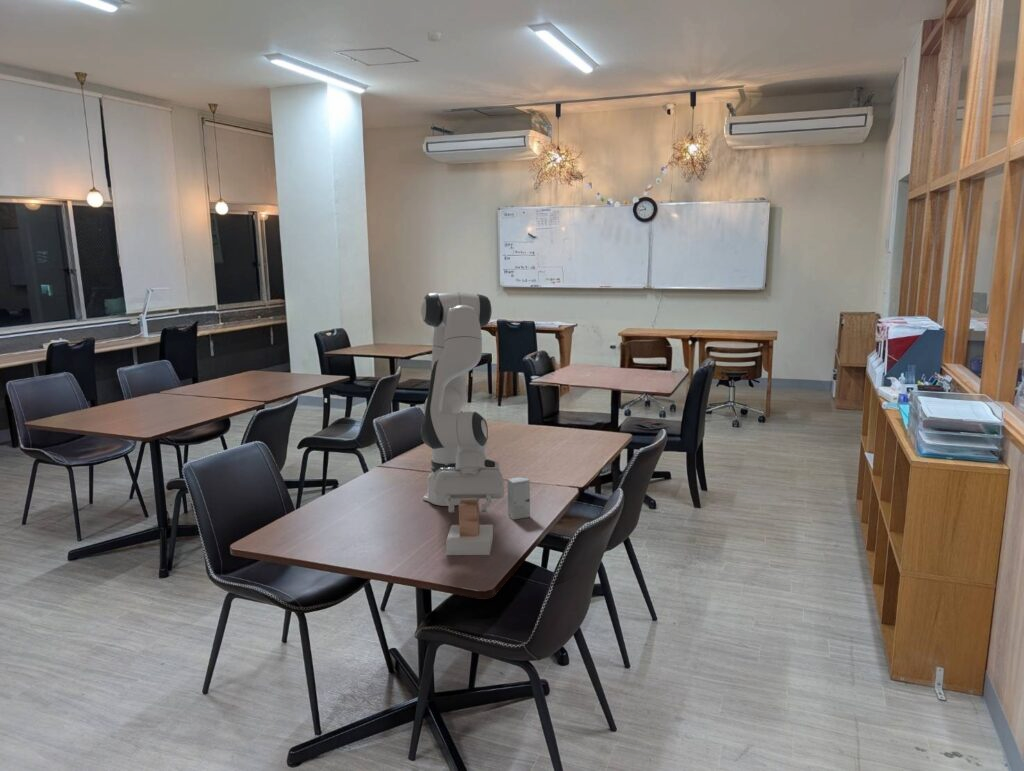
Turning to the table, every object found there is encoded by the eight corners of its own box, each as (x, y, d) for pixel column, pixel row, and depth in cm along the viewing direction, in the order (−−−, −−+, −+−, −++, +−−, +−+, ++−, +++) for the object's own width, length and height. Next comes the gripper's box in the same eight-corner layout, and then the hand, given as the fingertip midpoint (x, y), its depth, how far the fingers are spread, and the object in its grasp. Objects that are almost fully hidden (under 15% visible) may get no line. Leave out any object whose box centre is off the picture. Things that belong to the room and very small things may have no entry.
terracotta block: (462, 529, 200) (460, 499, 198) (479, 529, 199) (478, 499, 198) (459, 536, 195) (458, 505, 193) (477, 536, 195) (476, 505, 193)
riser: (452, 537, 204) (451, 524, 203) (493, 537, 204) (492, 524, 203) (446, 555, 192) (445, 541, 192) (489, 554, 192) (489, 541, 191)
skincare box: (513, 520, 217) (512, 482, 214) (507, 515, 221) (506, 478, 218) (531, 516, 219) (530, 479, 217) (525, 512, 223) (524, 476, 221)
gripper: (433, 462, 201) (429, 506, 194) (504, 462, 200) (502, 506, 193) (436, 472, 207) (432, 516, 199) (505, 472, 206) (504, 516, 198)
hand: (467, 511), depth 196 cm, fingers open, 8 cm apart
